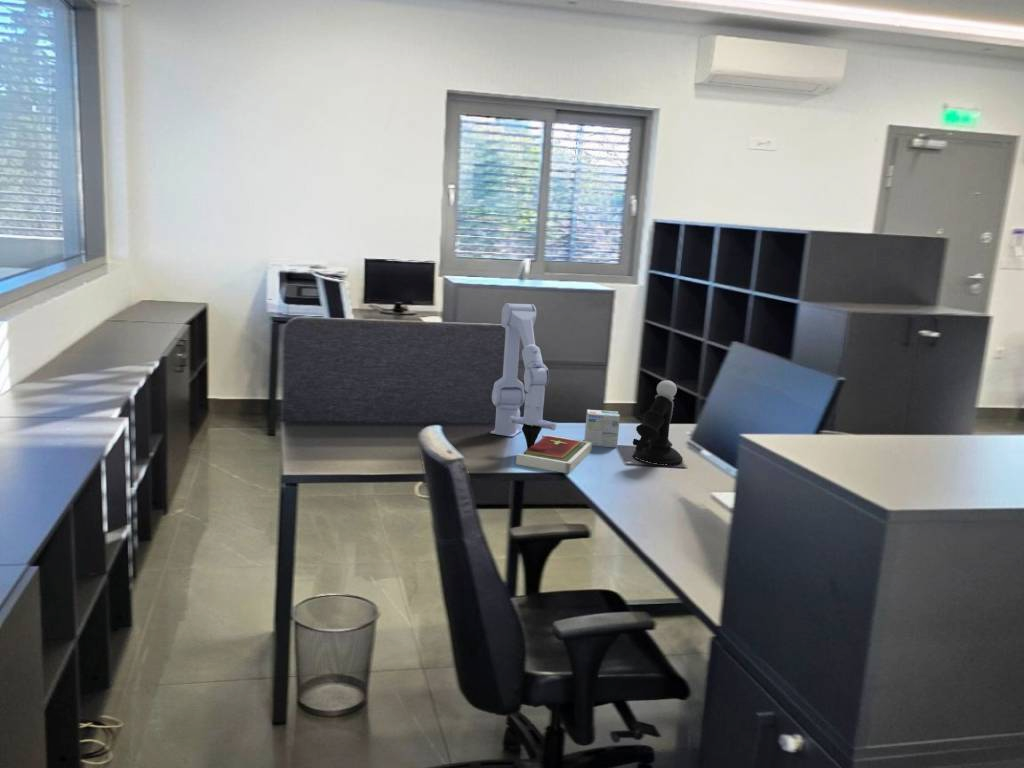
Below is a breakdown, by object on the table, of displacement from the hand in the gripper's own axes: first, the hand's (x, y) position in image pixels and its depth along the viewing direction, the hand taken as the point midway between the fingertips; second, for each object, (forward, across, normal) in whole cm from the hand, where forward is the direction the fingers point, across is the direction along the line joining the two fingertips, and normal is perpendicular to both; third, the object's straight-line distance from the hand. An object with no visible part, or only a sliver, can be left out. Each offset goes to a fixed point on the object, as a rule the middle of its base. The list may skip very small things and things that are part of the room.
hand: (530, 448), depth 264 cm
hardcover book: (+2, +7, 0) cm, 7 cm away
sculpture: (+2, +36, +14) cm, 38 cm away
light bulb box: (+2, +16, +24) cm, 29 cm away
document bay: (+1, +8, 0) cm, 8 cm away
